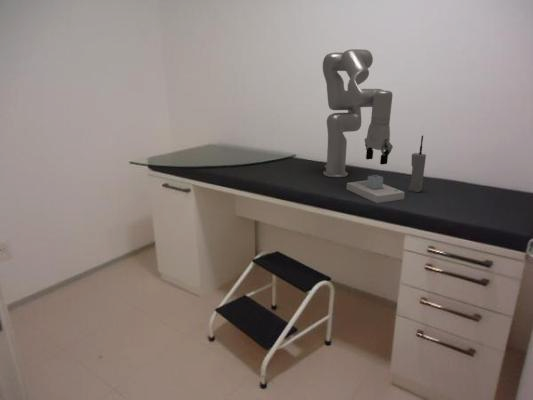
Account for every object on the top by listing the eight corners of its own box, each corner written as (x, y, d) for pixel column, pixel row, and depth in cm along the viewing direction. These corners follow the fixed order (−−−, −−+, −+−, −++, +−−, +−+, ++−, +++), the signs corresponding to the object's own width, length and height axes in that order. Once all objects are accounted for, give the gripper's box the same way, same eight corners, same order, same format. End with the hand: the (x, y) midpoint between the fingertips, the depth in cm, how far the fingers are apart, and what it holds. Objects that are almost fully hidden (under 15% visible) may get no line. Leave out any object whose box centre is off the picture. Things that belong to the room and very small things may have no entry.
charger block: (366, 191, 176) (367, 175, 174) (375, 190, 178) (376, 174, 176) (373, 194, 172) (374, 178, 170) (381, 193, 174) (383, 177, 172)
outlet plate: (346, 189, 183) (346, 182, 182) (371, 185, 188) (372, 179, 187) (377, 203, 163) (377, 195, 162) (404, 199, 169) (404, 191, 168)
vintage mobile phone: (410, 188, 183) (416, 134, 176) (421, 190, 180) (428, 135, 173) (407, 190, 181) (413, 135, 173) (418, 192, 178) (425, 136, 170)
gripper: (360, 119, 172) (357, 157, 178) (386, 124, 157) (382, 167, 163) (374, 118, 175) (370, 156, 181) (401, 123, 160) (396, 165, 166)
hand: (376, 161), depth 172 cm, fingers open, 9 cm apart
